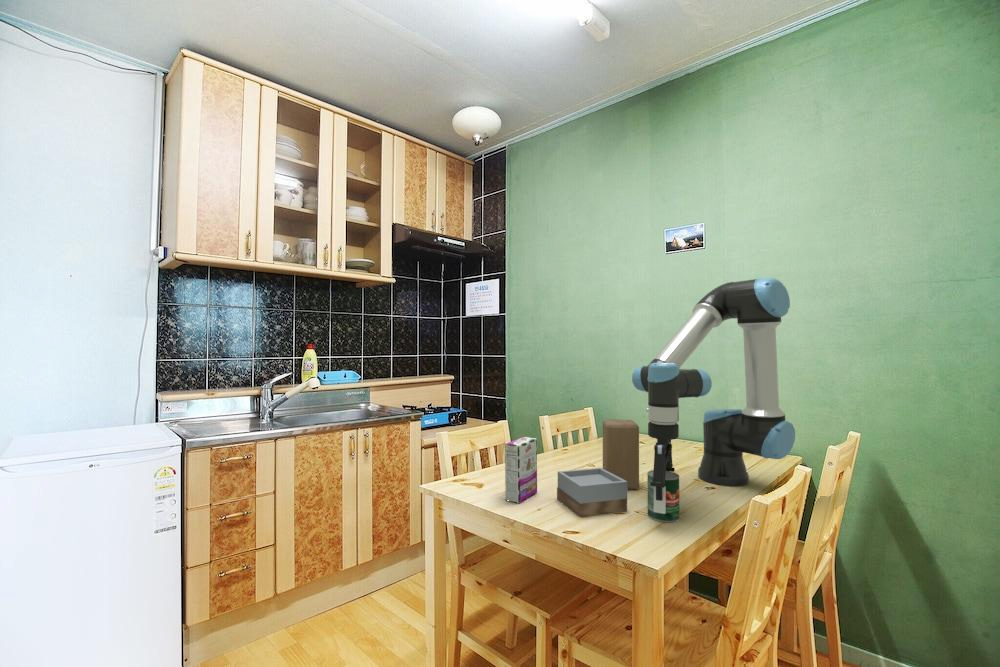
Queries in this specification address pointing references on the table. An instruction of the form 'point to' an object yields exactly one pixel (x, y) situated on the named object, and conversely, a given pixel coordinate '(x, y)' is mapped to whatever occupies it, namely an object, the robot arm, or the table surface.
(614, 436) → the block
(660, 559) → the table surface
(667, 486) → the canned tomato
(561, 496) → the walnut block
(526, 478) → the candy bar box
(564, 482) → the slate grey tray
